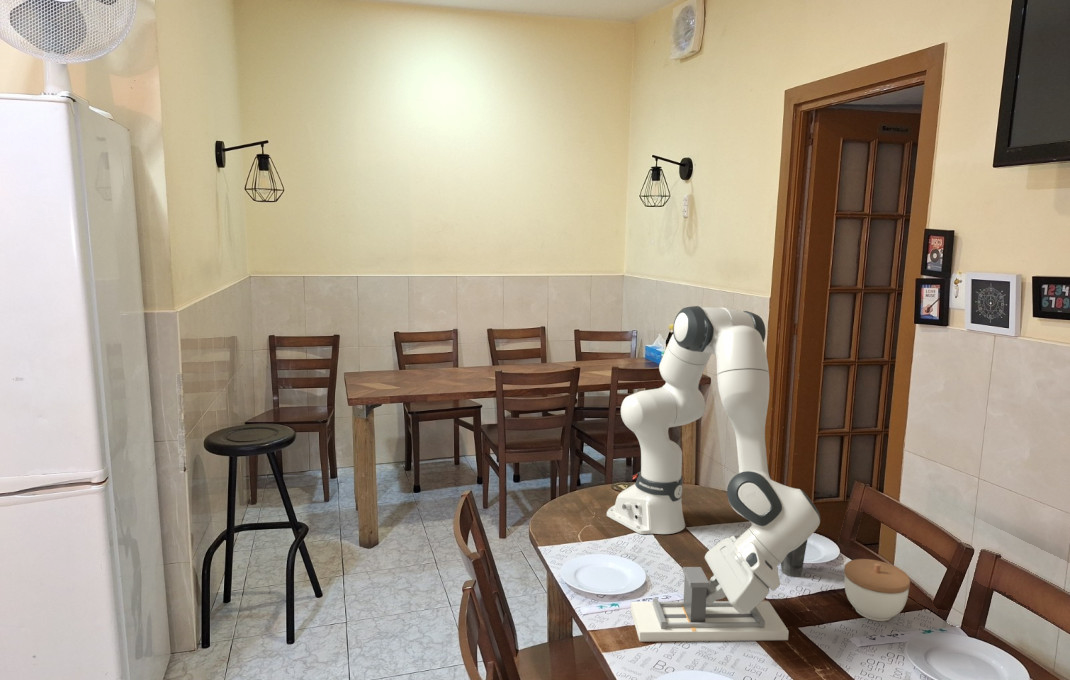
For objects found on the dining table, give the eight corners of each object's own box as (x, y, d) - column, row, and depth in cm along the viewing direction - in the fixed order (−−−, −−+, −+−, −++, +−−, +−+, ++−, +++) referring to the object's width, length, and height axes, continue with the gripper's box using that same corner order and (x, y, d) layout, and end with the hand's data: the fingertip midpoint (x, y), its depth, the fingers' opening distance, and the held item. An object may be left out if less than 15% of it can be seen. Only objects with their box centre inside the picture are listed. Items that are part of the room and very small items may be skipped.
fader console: (639, 641, 133) (640, 625, 133) (630, 610, 144) (631, 595, 144) (788, 640, 134) (789, 624, 134) (768, 609, 145) (768, 594, 144)
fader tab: (688, 623, 136) (690, 582, 134) (681, 606, 142) (682, 567, 140) (707, 623, 136) (709, 582, 134) (699, 606, 142) (700, 566, 140)
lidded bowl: (880, 635, 136) (885, 585, 134) (828, 604, 147) (832, 558, 145) (919, 619, 142) (924, 570, 140) (866, 590, 153) (870, 545, 151)
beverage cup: (810, 581, 157) (816, 500, 153) (777, 578, 158) (782, 498, 155) (804, 566, 164) (809, 489, 161) (773, 563, 165) (778, 486, 162)
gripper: (728, 522, 147) (682, 564, 148) (761, 569, 127) (708, 617, 128) (747, 541, 148) (701, 582, 149) (783, 590, 127) (730, 637, 129)
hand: (704, 599), depth 138 cm, fingers closed, pressing on fader tab
